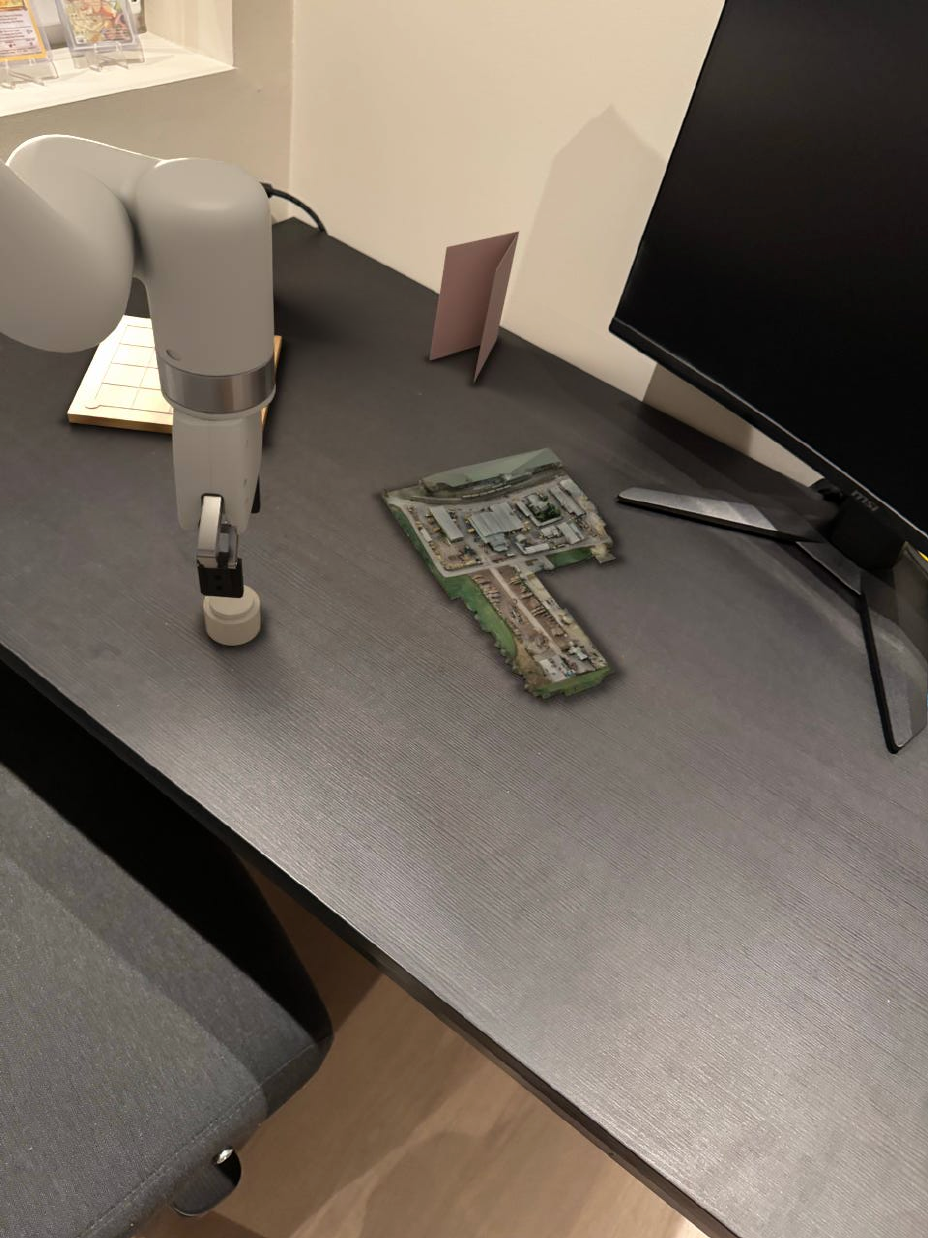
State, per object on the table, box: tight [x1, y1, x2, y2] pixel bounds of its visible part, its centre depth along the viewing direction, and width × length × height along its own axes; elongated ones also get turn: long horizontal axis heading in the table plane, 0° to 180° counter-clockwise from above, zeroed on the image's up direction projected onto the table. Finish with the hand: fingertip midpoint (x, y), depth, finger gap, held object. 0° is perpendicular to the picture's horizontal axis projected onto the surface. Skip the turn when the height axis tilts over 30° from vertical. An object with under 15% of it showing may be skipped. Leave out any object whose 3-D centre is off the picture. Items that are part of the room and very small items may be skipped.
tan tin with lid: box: [202, 584, 262, 647], centre depth 74 cm, size 5×5×4 cm
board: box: [67, 315, 283, 435], centre depth 97 cm, size 20×20×1 cm
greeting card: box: [429, 230, 520, 383], centre depth 105 cm, size 11×7×15 cm, turn 129°
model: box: [381, 446, 617, 701], centre depth 86 cm, size 21×30×2 cm
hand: (232, 550), depth 69 cm, fingers open, 9 cm apart
